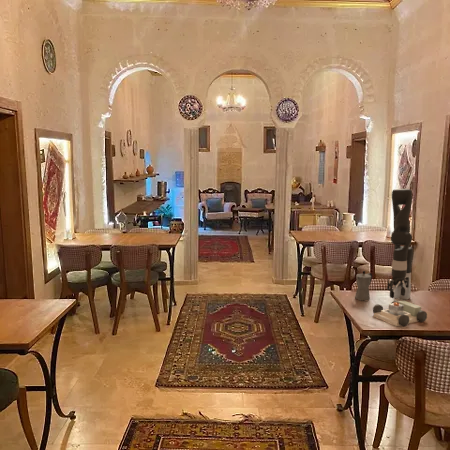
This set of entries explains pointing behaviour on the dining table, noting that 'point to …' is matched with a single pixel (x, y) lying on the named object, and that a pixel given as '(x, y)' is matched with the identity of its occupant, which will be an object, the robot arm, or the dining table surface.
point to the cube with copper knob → (396, 309)
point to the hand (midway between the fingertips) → (397, 296)
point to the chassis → (409, 315)
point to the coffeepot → (363, 286)
